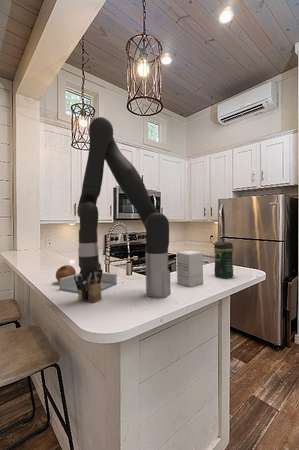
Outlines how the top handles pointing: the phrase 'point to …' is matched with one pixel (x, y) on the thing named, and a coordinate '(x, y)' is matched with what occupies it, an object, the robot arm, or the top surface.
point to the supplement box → (190, 268)
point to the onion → (65, 272)
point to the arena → (70, 285)
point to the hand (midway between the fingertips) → (89, 298)
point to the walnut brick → (92, 293)
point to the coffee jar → (223, 259)
